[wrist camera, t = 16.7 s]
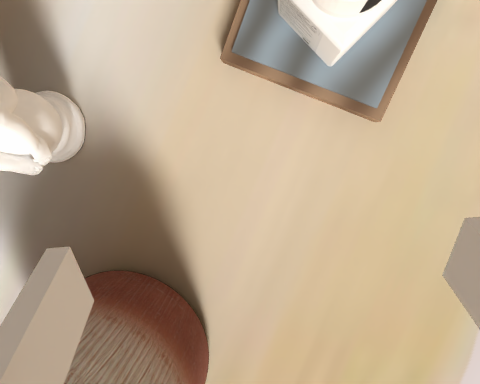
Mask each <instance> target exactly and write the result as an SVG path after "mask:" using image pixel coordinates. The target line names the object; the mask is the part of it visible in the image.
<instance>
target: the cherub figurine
mask: <svg viewBox="0 0 480 384" xmlns="http://www.w3.org/2000/svg"><path fill="white" fill-rule="evenodd" d="M84 140H85V120H84V116H83V114H82V113H81V111H80V109H79V107H78V106H77V105H76V104H74V103H73V102H72V101H71V100H70V99H69V98H68V97H66V96H64V95H63V94H60V93H58V92H54V91H40V92H37V93H33V92H31V91H28V90H24V89H14V88H13V87H12V86H11V85H10V84H9V83H8V82H7V81H6V80H4V79H3V78H2V77H0V171H12V172H16V173H22V174H28V175H37V174H39V173H40V172H41V171H43V170H42V169H43V166H44V165H46V164H47V163H49V162H62V161H65V160H68V159H70V158H71V157H73V156H74V155H75V154H76V153H77V152H78V151H79V150H80V149H81V147H82V144H83V143H84Z"/></svg>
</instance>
